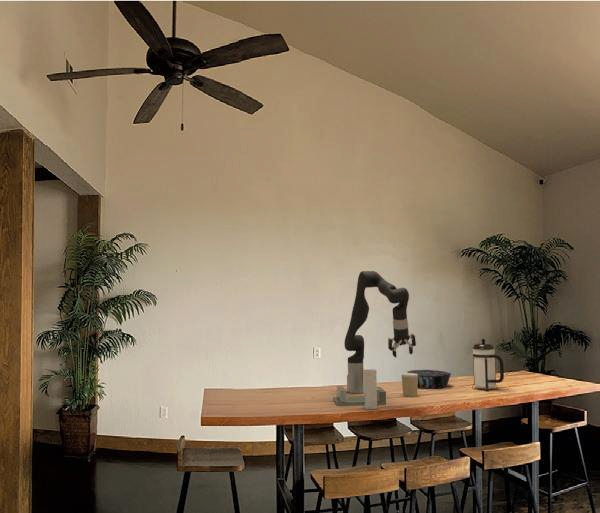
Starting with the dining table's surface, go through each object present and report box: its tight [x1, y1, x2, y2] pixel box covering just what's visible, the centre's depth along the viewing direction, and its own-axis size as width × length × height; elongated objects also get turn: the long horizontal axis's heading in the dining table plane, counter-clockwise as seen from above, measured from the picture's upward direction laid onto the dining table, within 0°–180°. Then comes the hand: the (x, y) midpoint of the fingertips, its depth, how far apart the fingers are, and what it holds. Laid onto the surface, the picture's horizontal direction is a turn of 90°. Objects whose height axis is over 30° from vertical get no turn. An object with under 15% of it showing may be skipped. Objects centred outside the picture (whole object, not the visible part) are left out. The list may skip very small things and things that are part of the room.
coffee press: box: [471, 338, 505, 392], centre depth 311 cm, size 17×16×30 cm
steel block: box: [362, 368, 378, 410], centre depth 264 cm, size 6×4×19 cm
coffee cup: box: [400, 372, 418, 398], centre depth 294 cm, size 9×9×12 cm
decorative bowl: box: [406, 369, 452, 390], centre depth 326 cm, size 26×28×10 cm
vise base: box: [332, 386, 387, 407], centre depth 278 cm, size 26×15×8 cm, turn 94°
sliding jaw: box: [336, 385, 347, 402], centre depth 277 cm, size 3×13×6 cm, turn 4°
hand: (402, 355), depth 270 cm, fingers open, 8 cm apart
